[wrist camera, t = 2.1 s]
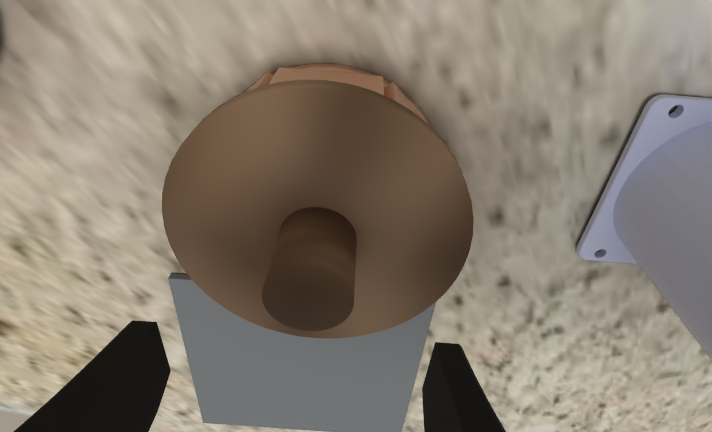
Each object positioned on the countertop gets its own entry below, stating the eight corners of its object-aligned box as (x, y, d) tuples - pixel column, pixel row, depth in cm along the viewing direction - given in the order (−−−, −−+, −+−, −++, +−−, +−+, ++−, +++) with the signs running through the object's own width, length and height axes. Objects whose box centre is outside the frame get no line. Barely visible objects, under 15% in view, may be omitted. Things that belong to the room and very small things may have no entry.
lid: (506, 95, 13) (547, 152, 10) (438, 332, 19) (450, 412, 16) (141, 64, 13) (67, 112, 10) (193, 314, 19) (159, 392, 16)
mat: (435, 293, 23) (436, 298, 22) (399, 430, 31) (400, 436, 31) (171, 273, 23) (168, 278, 22) (205, 417, 31) (203, 422, 30)
